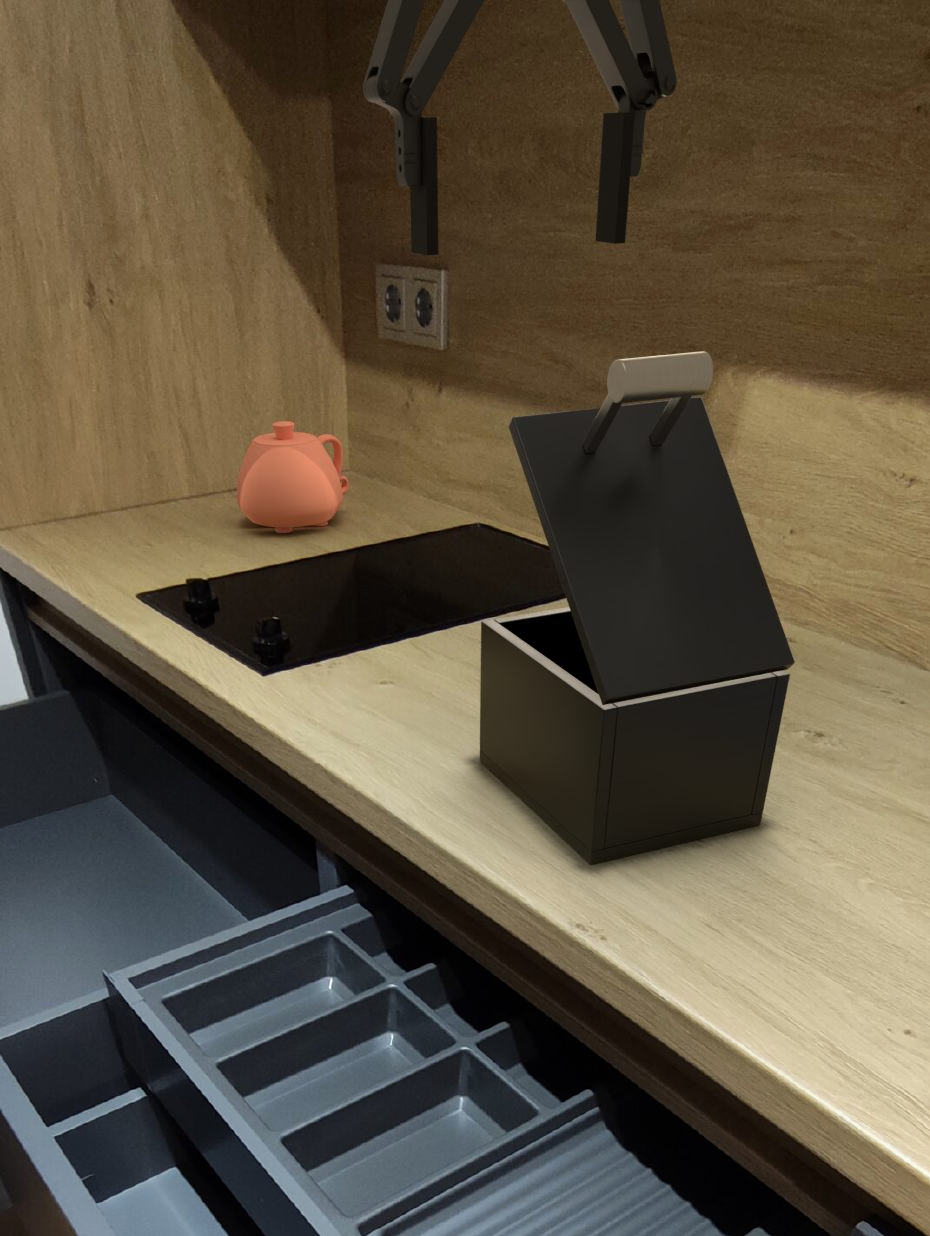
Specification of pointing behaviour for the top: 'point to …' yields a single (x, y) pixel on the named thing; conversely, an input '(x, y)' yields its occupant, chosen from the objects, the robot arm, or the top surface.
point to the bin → (620, 744)
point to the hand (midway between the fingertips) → (519, 248)
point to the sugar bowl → (291, 479)
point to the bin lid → (651, 535)
